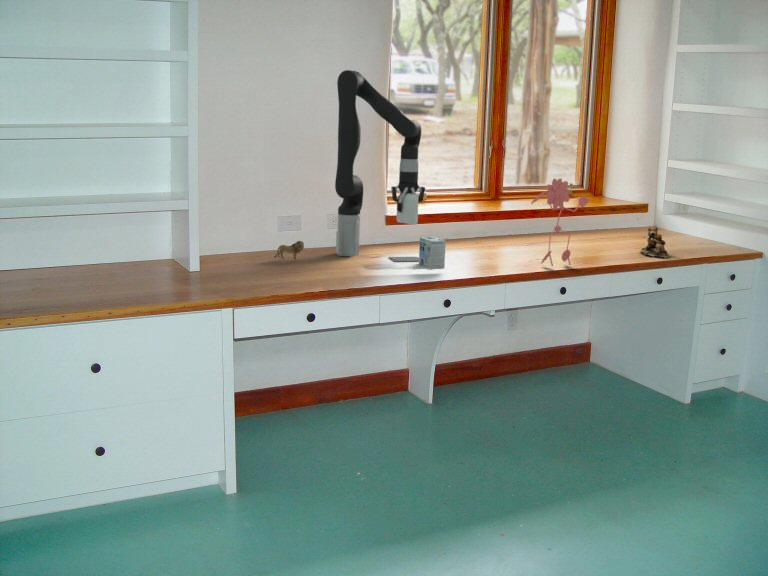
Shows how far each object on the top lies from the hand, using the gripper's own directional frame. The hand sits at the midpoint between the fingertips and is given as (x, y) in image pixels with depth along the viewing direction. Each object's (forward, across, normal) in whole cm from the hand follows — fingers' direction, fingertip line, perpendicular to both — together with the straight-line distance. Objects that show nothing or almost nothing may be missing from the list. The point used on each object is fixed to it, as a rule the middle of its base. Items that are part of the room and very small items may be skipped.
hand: (407, 212), depth 365 cm
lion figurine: (+20, -47, +6) cm, 52 cm away
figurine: (+20, +60, -11) cm, 64 cm away
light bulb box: (+20, +7, -13) cm, 25 cm away
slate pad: (+20, 0, 0) cm, 20 cm away
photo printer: (+5, 0, 0) cm, 5 cm away
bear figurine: (+20, +118, +7) cm, 120 cm away
